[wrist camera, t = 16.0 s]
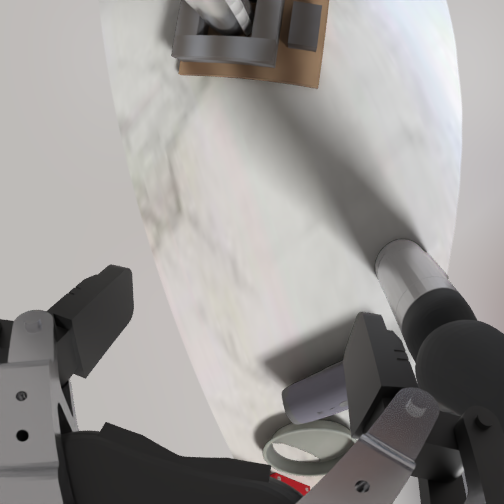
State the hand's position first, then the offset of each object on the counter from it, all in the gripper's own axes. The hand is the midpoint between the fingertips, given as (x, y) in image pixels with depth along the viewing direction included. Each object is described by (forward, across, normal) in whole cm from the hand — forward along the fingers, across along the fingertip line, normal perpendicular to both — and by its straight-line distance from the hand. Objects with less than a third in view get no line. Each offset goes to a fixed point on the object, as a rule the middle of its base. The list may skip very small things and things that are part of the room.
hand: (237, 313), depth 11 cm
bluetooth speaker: (+40, -18, +36) cm, 57 cm away
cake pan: (+41, -19, +64) cm, 78 cm away
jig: (+40, +8, -22) cm, 46 cm away
